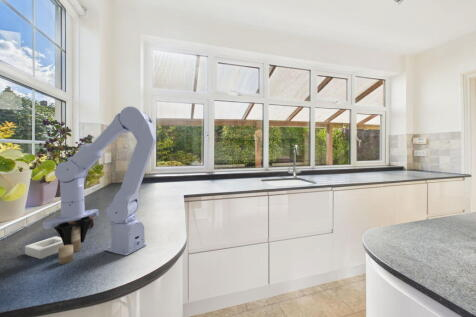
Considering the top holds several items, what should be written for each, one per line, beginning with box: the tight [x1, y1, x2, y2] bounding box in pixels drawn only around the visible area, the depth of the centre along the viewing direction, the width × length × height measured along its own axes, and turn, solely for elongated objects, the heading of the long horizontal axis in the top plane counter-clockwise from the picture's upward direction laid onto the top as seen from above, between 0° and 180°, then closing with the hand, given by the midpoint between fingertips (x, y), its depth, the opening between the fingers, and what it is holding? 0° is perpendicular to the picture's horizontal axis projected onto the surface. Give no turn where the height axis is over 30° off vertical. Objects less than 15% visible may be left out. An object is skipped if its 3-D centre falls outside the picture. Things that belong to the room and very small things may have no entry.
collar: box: [24, 235, 64, 260], centre depth 66 cm, size 8×8×2 cm
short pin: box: [58, 245, 75, 265], centre depth 59 cm, size 3×3×4 cm
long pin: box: [71, 226, 82, 254], centre depth 66 cm, size 3×3×7 cm
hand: (74, 244), depth 66 cm, fingers closed on long pin, 3 cm apart
